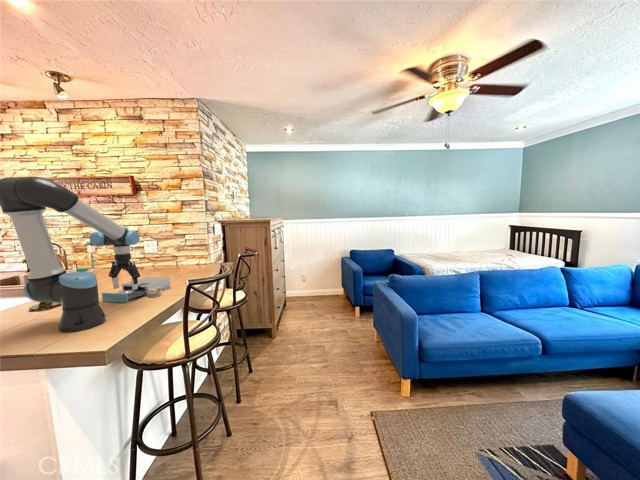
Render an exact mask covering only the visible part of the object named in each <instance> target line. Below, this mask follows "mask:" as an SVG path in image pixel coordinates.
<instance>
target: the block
mask: <svg viewBox="0 0 640 480" xmlns="http://www.w3.org/2000/svg"><path fill="white" fill-rule="evenodd" d="M147 291H148V296H147V297H148V299H149V298H150V299H155V298H158V297H161V296H163V291H162V289H161V287H153V288H150V289H147Z"/></svg>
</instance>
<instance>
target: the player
mask: <svg viewBox="0 0 640 480" xmlns="http://www.w3.org/2000/svg"><path fill="white" fill-rule="evenodd" d="M137 286H138V289H145V294H144V295H141V296H140V297H148V291H147V289H150V288H153V287H161V289H162V292H163V290H164V291H167V290H169V289H171V278H170V277H151V276H147V277H143V278H140V279H138V284H137ZM121 288H122V290H128V289H132V281H128V282H125V283H122V284H121ZM168 288H169V289H168ZM166 289H167V290H166ZM122 290H121V291H122Z"/></svg>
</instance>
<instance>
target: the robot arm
mask: <svg viewBox="0 0 640 480" xmlns="http://www.w3.org/2000/svg"><path fill="white" fill-rule="evenodd" d="M47 208H49V209H52V210H54V211H55V212H58V213H65V214H67V215H68V216H70V217H72V218H73V219H76V220H78V221H79V222H81V223H82V224H85V225H87V226H88V227H90V228H92V229H94V230H95V231H93V232H92V233H90V235H89V242H90V244H91V245H93V246H94V247H102V246H113V253H114V261H111V268H110V270H109V274H108V277H109V278H112V279H111V281H112V285H113V290H117V289H119V288H120V283H119V277H118V275H119V274H120V273H121V271H122V270H125V271H126V272H127V273H128V274H129V275H130V277H131V282H132V290H135V289H138V286H137V284H138V280H139V279H138V278H141V274H140V272H139V270H138V267H137V265H136V262H135V261H131V259H132V254H131V246H134V245H137V244H138V243H139V242H140V233H139V232H137V231H135V230H129V228H128V226H127V227H126V226H122V225H120V224H118V223H117V222H115V221H113V220H112V219H111V218H109V217H107V215H105V214H102V213H101V212H100V211H98V210H96V209H95V208H94V207H92V206H90V205H88V204H87V203H85V202H84V201H82V200H81V199H80V197H79V195H78V194H77V193H75V192H73V191H72V190H70V189H68V188H67V187H65V186H62V185H61V184H59V183H57V182H55V181H54V180H53V181H52V180H50V179H47V178H45V177H41V176H18V177H17V176H16V177H15V176H13V177H12V176H9V177H7V176H6V177H1V178H0V209H1V211H2V214H3V215H4V214H5V215H6V216H9V217H10V219H11V222H12V224H13V227H14V229H15V233H16V235H17V238H18V242H19V244H20V246H21V249H22V251H23V252H22V253H23V255H24V257H25V258H24V259H25V260H26V264H27V265H28V268H29V271H30V273H28V275H27V276H26V278H27V281H26V283H25V285H24V286H23V293H24V295H25V296H26V298H28V299H29V300H31V301H33V302H38V303H40V302H44V303H47V302H61V304H62V305H61V308H62V313H61V317H60V319H59V322H58V325H57V326H58V331H59V332H60V333H74V332H80V331H86V330H89V329H91V328H95V327H97V326H99V325H101V324H103V323H105V322H106V321H107V319H106V318H107V317H106V314H105V312H104V311H103V309H102V307H101V305H100V299H99V298H100V297H99V286H98V280H97V276H96V274H95V273H93V272H89V271H87V272H77V271H73V272H72V271H71V272H67V270H66V268H65V267H62V266H60V265H59V264H60V263H59V261H58V258H57V255H56V252H55V250H54V245H53V243H52V240H51V237H50V233H49V231H48V227H47V224H46V221H45V219H44V216H43V213H44V212H45V211H46V210H47Z"/></svg>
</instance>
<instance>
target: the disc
mask: <svg viewBox="0 0 640 480" xmlns="http://www.w3.org/2000/svg"><path fill="white" fill-rule="evenodd" d="M117 293H118V294H128V295H130V294H133V293H135V290H132V289H128V290H120V291H119V290H118V291H117Z"/></svg>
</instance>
